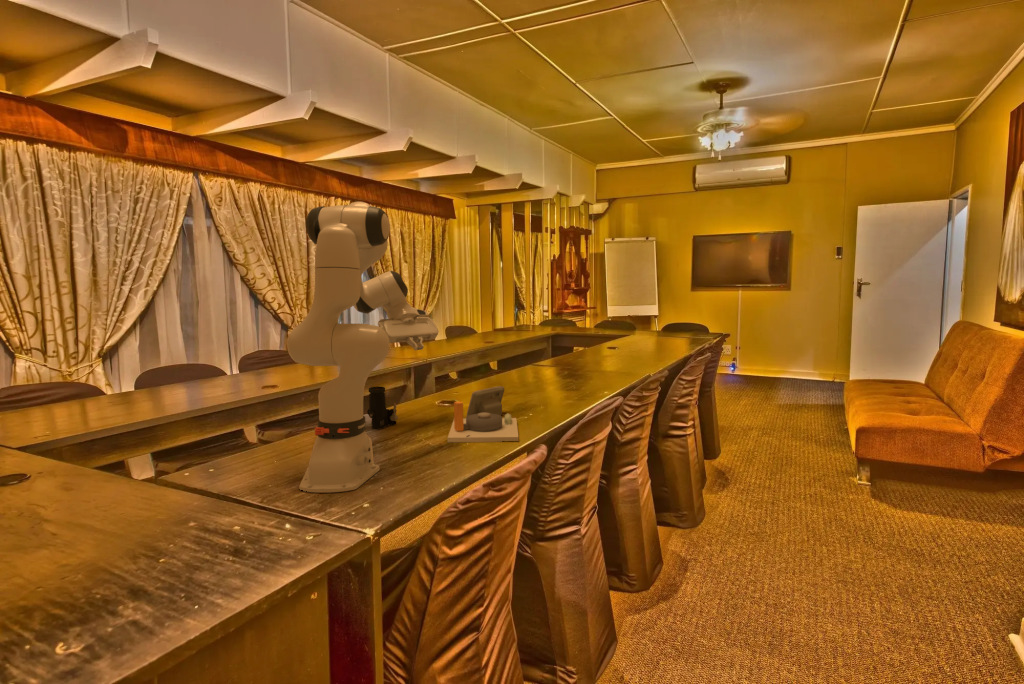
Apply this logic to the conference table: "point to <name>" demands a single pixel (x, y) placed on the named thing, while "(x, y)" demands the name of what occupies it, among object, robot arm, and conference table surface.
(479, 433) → the base
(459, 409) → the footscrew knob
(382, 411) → the scope
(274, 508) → the conference table surface
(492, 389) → the digital clock
